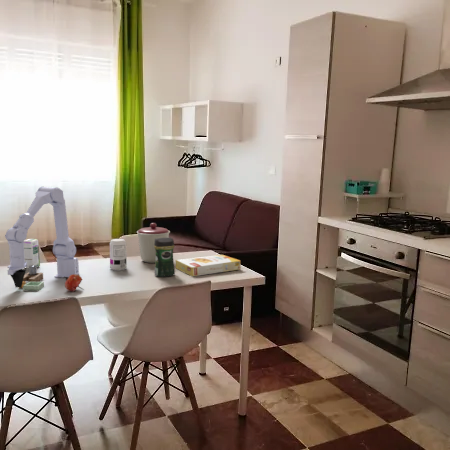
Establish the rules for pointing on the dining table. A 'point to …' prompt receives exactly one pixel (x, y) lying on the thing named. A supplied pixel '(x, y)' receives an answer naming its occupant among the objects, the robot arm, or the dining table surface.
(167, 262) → the coffee jar
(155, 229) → the canister
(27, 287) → the tray
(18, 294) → the dining table surface
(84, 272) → the dining table surface
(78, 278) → the pomegranate
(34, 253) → the syrup box
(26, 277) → the socket block
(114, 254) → the supplement can
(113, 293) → the dining table surface
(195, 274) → the cereal box
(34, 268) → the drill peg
